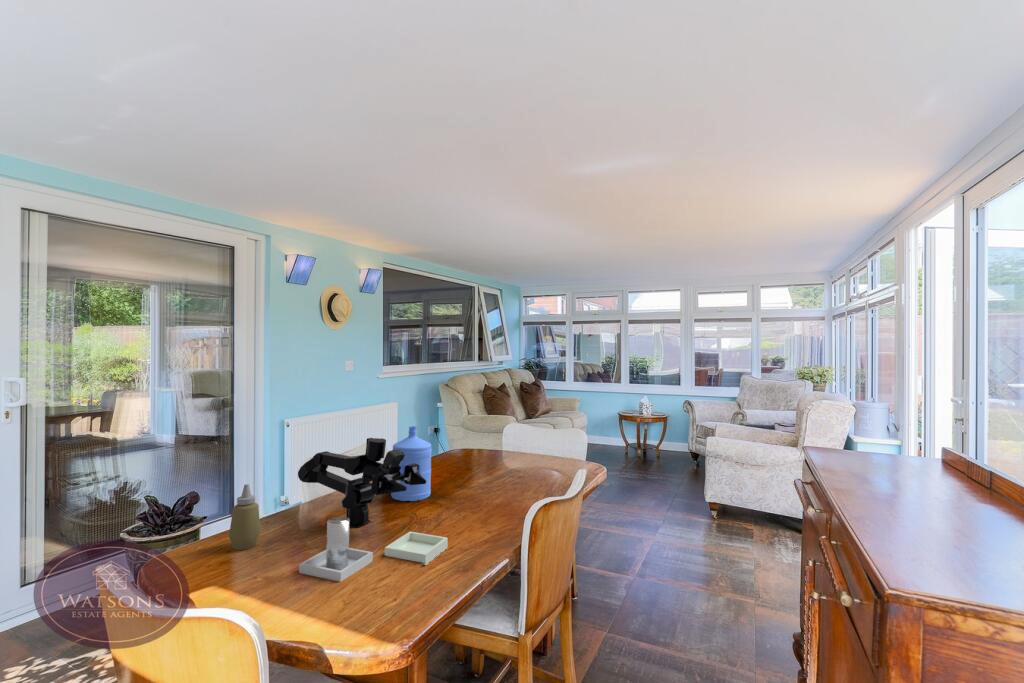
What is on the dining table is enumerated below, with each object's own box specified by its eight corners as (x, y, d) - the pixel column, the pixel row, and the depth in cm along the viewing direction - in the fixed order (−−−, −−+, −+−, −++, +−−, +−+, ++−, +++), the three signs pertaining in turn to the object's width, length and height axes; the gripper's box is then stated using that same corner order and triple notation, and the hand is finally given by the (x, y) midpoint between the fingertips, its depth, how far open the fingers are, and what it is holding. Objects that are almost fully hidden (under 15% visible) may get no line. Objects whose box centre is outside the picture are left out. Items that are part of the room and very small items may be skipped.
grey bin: (298, 575, 120) (299, 563, 121) (334, 555, 133) (334, 545, 133) (340, 584, 116) (340, 572, 116) (372, 563, 128) (373, 552, 128)
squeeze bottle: (266, 543, 140) (268, 482, 141) (242, 554, 133) (245, 489, 133) (245, 539, 143) (248, 480, 144) (221, 549, 135) (224, 486, 136)
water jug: (412, 488, 201) (413, 423, 202) (438, 495, 192) (440, 426, 193) (382, 497, 189) (384, 427, 190) (409, 504, 179) (411, 431, 180)
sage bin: (384, 558, 132) (384, 547, 132) (409, 541, 144) (409, 531, 144) (425, 565, 127) (425, 554, 127) (447, 547, 140) (447, 537, 140)
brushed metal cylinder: (321, 569, 123) (322, 521, 123) (335, 560, 128) (337, 515, 128) (338, 572, 121) (340, 524, 121) (352, 563, 126) (354, 517, 126)
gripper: (360, 453, 146) (398, 465, 138) (402, 443, 162) (438, 454, 154) (356, 488, 146) (393, 503, 138) (398, 475, 162) (434, 488, 154)
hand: (416, 485), depth 146 cm, fingers open, 9 cm apart
